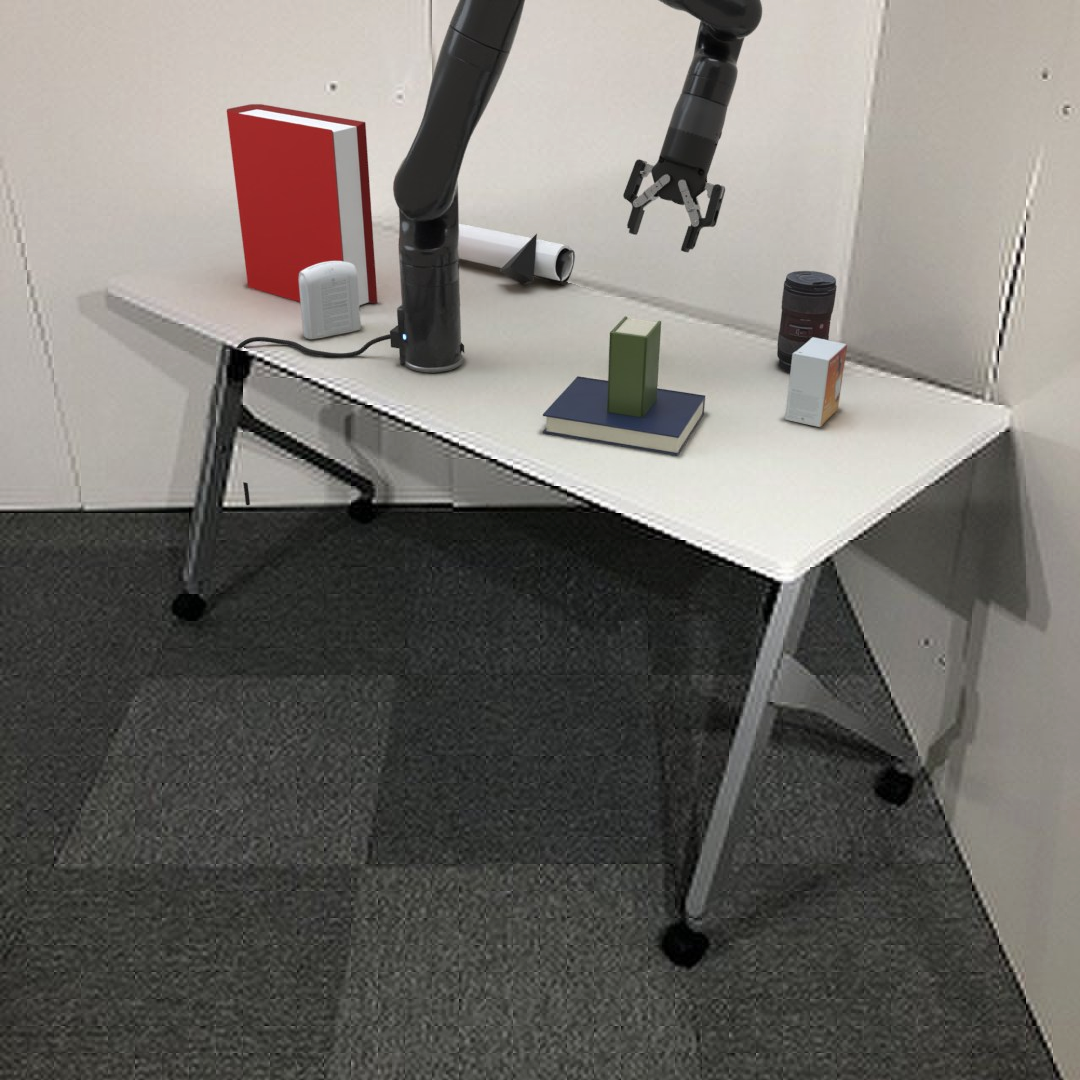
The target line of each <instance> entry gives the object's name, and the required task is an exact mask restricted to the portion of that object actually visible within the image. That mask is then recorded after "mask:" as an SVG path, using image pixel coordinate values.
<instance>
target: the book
mask: <svg viewBox="0 0 1080 1080" xmlns="http://www.w3.org/2000/svg"><path fill="white" fill-rule="evenodd" d="M226 118H227V127H228V133H229V134H228V136H229V143H230V150H231V158H232V167H233V175H234V184H235V192H236V199H237V207H238V217H239V223H240V233H241V241H242V248H243V257H244V265H245V272H246V281H247V288H250V289H253V290H257V291H260V292H262V293H263V292H264V293H267V294H271V295H274V296H277V297H281V298H285V299H287V300H291V301H294V302H298V303H301V302H300V290H299V273H300V272H301V271H302V270H304V269H306V268H308V267H310V266H312V265H315V264H318V263H322V262H328V261H344V262H349V263H351V264H353V265H354V266H355V268H356V272H357V278H358V294H359V306H363V305H364V304H367V303H372V304H378V291H377V290H378V289H377V276H376V261H375V246H374V243H375V242H374V232H373V216H372V214H373V213H372V200H371V184H370V169H369V156H368V155H369V154H368V153H369V152H368V141H367V139H368V137H367V125H366V123H367V122H366V121H362V120H357V119H349V118H344V117H339V116H333V115H327V114H322V113H321V114H320V113H316V112H315V113H314V112H308V111H303V110H298V109H291V108H285V107H279V106H274V105H268V104H263V103H262V104H261V103H259V104H258V103H251V104H246V105H240V106H235V107H230V108H227V109H226Z"/></svg>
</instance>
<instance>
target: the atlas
mask: <svg viewBox="0 0 1080 1080" xmlns="http://www.w3.org/2000/svg"><path fill="white" fill-rule="evenodd" d="M607 397H608V380H605V379H598V378H593V377H592V378H591V377H586V376H579V375H578V376H576V377H575V378H574V380H572V381H571V383H570V384H569V385H568V386H567V387H566V388H565V389H564V390H563V391H562V393H560V394H559V396H558V397H557V398H556V399H555V400H554V401H553V402H552V403H551V404H550V406H548V408H547V409H546V410H545V411H544V412H543V413H542V417H546V426H545V428H544V430H542V434H545V435H551V436H557V437H563V438H569V439H574V440H575V439H576V440H580V441H587V442H593V443H599V444H605V445H610V446H616V447H622V448H629V449H635V450H640V451H641V450H642V451H646V452H652V453H658V454H663V455H671V456H676V457H677V456H679V454H680V453H681V451H682V450H683V448H684V446H686V443H687V441H688V440H689V438H690V437H691V436H692V434H693V432H694V431H695V429H696V427H697V426H698V424H699V422H700V421H701V420H702V418H703V416H704V415H705V408H706V407H705V405H706V395H704V394H698V393H692V392H686V391H685V392H684V391H680V390H679V391H678V390H671V389H665V388H659V387H657V400H656V401H655V402H654V404H653V405H652V406H651V408H650V409H649V410H648V412H647V413H646V414H645V416H644V417H643V418H641V417H635V416H629V415H623V414H617V413H610V412H607Z"/></svg>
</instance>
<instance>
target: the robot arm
mask: <svg viewBox="0 0 1080 1080" xmlns="http://www.w3.org/2000/svg"><path fill="white" fill-rule="evenodd" d="M657 1H659V2H660V3H662V4H663V5H666V6H667V7H669V8H671V9H674V10H676V11H682V12H685V13H687V14H689V15H690V16H693V18H695V19H697V20H699V26H698V29H697V34H696V39H695V45H694V51H693V56H692V59H691V62H690V65H689V67H688V69H687V74H686V76H685V79H684V82H683V85H682V88H681V93H680V94H679V97H678V100H677V101H676V104H675V106H674V108H673V112H672V114H671V118H670V122H669V124H668V127H667V130H666V134H665V137H664V140H663V143H662V147H661V150H660V152H659V156H658V160H657V161H656V163H655V164H654V165H653V164H650V163H649V162H648V161H646V160H642V159H640V158H639V159H636V160H635V162H634V165H633V168H632V170H631V173H630V176H629V178H628V181H627V182H626V183H627V184H626V185H625V189H624V192H623V195H622V197H623V199H624V200H626V201H628V202H629V203H630V204H631V211H630V214H629V217H628V221H627V224H626V226H627V227H626V228H627V229H628V233H629V234H630V235H635V236H636V235H638V233H639V230H640V227H641V224H642V221H643V218H644V215H645V210H644V208H646V207H647V206H648V205H650V204H651V203H653V202H654V201H656V200H657V199H658V198H660V199H661V200H664V201H668V202H672V203H674V204H676V205H680V206H684V208H685V210H686V212H687V214H688V217H689V221H690V225H688V226H687V229H686V232H685V235H684V238H683V241H682V244H681V247H680V251H681V252H684V253H689V252H690V250H694V248H695V247H696V244H697V242H698V239H699V235H700V233H701V230H703V228H715V226H716V225H717V222H718V218H719V215H720V211H721V208H722V204H723V201H724V196H725V192H726V187H725V186H724V185H723V184H719V183H718V184H717V183H710V182H708V174H709V171H710V169H711V165H712V163H713V160H714V156H715V153H716V152H717V151H716V150H717V148H718V145H719V141H720V140H721V138H722V135H723V129H724V125H725V122H726V117H727V112H728V108H729V105H730V102H731V98H732V96H733V93H734V90H735V87H736V84H737V79H738V75H739V74H738V73H739V72H738V71H739V70H738V65H737V64H738V60H739V57H740V54H741V51H742V47H743V44H744V41H745V38H746V37H748V36H750V35H751V34H753V32H754V31H755V30H757V28H758V26H759V25H760V23H761V20H762V17H763V4H762V1H761V0H657ZM525 2H526V0H458V2H457V5H456V7H455V9H454V12H453V15H452V17H451V19H450V21H449V24H448V28H447V30H446V33H445V36H444V39H443V41H442V43H441V47H440V50H439V54H438V57H437V60H436V64H435V68H434V70H433V75H432V78H431V82H430V87H429V90H428V94H427V99H426V104H425V108H424V112H423V116H422V118H421V119H422V120H421V122H420V124H419V127H418V130H417V132H416V135H415V137H414V139H413V141H412V143H411V145H410V147H409V149H408V152H407V154H406V156H405V157H404V158H403V160H402V161H401V163H400V164H399V167H398V168H397V171H396V173H395V176H394V179H393V183H392V191H393V198H394V201H395V204H396V206H397V208H398V216H399V217H398V218H399V220H398V221H399V228H398V229H399V231H398V245H397V247H398V260H399V261H398V262H399V278H400V295H401V296H400V297H401V305H399V306H398V308H397V309H396V317H397V320H396V321H397V325H396V326H395V327H393V328H391V329H390V330H389V334H384V335H381V336H377V337H374V338H373V339H371V340H369V341H368V342H366V343H365V344H364V345H363V346H362V347H361V348H359V349H357V350H354V351H350V352H330V351H329V352H328V351H324V350H323V351H321V350H317V349H312V348H307V347H306V346H304V345H303V344H302V345H301V344H300V343H298V342H296V341H293V340H287V339H280V338H274V337H268V336H267V337H266V336H254V337H253V336H252V337H249V338H245V340H243V341H241V342H240V343H239V344H238V345H237V346H236V347H235V348H236V349H242V348H244V347H245V346H247V345H249V344H252V343H256V342H264V343H265V342H266V343H272V344H277V345H287V346H291V347H293V348H296V349H298V350H300V351H302V352H304V353H306V354H309V355H312V356H320V357H325V358H326V357H327V358H336V359H340V358H343V359H344V358H353V357H356V356H359V355H362V354H363V353H365V352H366V351H367V350H368V349H369V348H370V347H371V346H373V345H376V344H377V343H380V342H383V341H388V340H390V348H393V349H398V351H399V352H398V353H399V365H401V366H405V367H407V368H408V369H410V370H412V371H415V372H420V373H428V374H429V373H430V374H431V373H433V374H434V373H435V374H436V373H444V372H449V371H452V370H455V369H457V368H458V367H460V366H461V365H462V364H463V354H465V344H464V343H462V323H461V319H462V318H461V291H460V290H461V288H460V263H459V260H460V259H459V254H458V245H459V223H460V214H459V212H460V209H459V208H460V207H459V181H458V179H459V175H460V171H461V168H462V165H463V160H464V158H465V154H466V151H467V148H468V145H469V143H470V140H471V139H472V135H473V134H474V132H475V129H476V127H478V124H479V122H480V120H481V118H482V117H483V115H484V112H485V110H486V109H487V107H488V105H489V102H490V101H491V99H492V96H493V94H494V92H495V90H496V87H497V85H498V83H499V82H500V79H501V77H502V74H503V72H504V69H505V66H506V64H507V61H508V59H509V56H510V53H511V51H512V48H513V45H514V42H515V39H516V36H517V32H518V29H519V26H520V22H521V19H522V15H523V11H524V7H525ZM650 174H651V176H652V181H653V184H651V185H650V186H649V187H647V188H646V189H645V190H644V191H643V192H642V194H640V195H639V196H638V194H639V191H640V188H641V186H642V183H643V180H644V178H647V177H648V176H649V175H650ZM705 191H706V192H707V194H706V196H707V198H708V199H709V202H708V204H707V208H706V212H705V216H704V217H703V215H702V213H701V206H700V203H699V199H698V197H699V196H700V195H702V194H703V193H704V192H705ZM462 353H463V354H462ZM242 484H243V492H244V500H245V506H250V505H251V501H250V491H249V484H248V482H244V481H243V482H242Z"/></svg>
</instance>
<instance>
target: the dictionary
mask: <svg viewBox="0 0 1080 1080" xmlns="http://www.w3.org/2000/svg"><path fill="white" fill-rule="evenodd" d="M661 334H662V320H658V321H651V320H643V319H636V318H629V317H628V316H626V315H625V316H624V317H622V319H621V320H619V322H618V323H617V324H616V325H615V326H614V327H613V328H612V330H610V332H609V339H608V340H609V344H608V346H609V347H608V371H607V372H608V374H607V381H608V397H607V412H610V413H617V414H623V415H629V416H635V417H641V418H643V417H644V416H645V414H646V413H647V412H648V410H649V409H650V408H651V406H652V405H653V404H654V402H655V401H656V400H657V388H659V387H658V386H659V385H658V383H659V369H660V365H659V364H660V352H661V350H660V349H661Z"/></svg>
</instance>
